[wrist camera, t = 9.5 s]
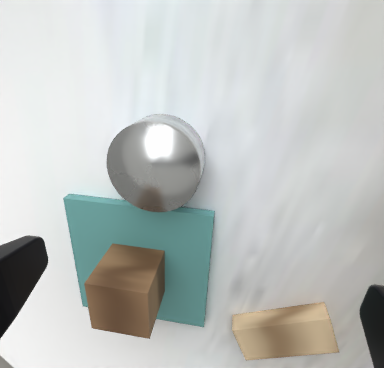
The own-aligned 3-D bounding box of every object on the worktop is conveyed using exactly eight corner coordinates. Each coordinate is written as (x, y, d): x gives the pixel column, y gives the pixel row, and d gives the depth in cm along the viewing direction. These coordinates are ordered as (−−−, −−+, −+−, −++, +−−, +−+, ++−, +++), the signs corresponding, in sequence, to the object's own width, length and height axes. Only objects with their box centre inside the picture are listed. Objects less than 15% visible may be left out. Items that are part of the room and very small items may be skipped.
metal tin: (207, 116, 18) (202, 125, 15) (203, 196, 20) (198, 216, 17) (121, 111, 18) (101, 119, 16) (127, 189, 21) (111, 207, 18)
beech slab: (322, 298, 22) (330, 318, 21) (331, 330, 24) (339, 352, 22) (232, 311, 25) (232, 330, 23) (245, 339, 26) (245, 360, 24)
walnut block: (164, 250, 21) (147, 293, 17) (164, 291, 23) (149, 338, 19) (112, 243, 22) (84, 283, 18) (116, 283, 24) (91, 328, 20)
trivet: (214, 211, 20) (213, 216, 19) (204, 319, 25) (203, 327, 24) (69, 193, 22) (63, 198, 21) (87, 299, 27) (82, 305, 26)
